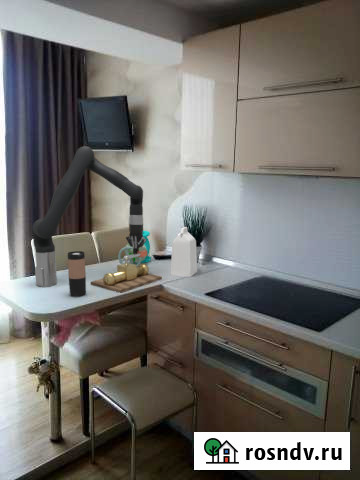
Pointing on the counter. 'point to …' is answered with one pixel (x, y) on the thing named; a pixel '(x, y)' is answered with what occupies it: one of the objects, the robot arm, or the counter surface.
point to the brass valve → (125, 273)
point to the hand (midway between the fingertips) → (136, 254)
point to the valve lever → (137, 254)
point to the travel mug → (77, 273)
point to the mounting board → (128, 283)
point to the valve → (146, 246)
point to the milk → (184, 254)
